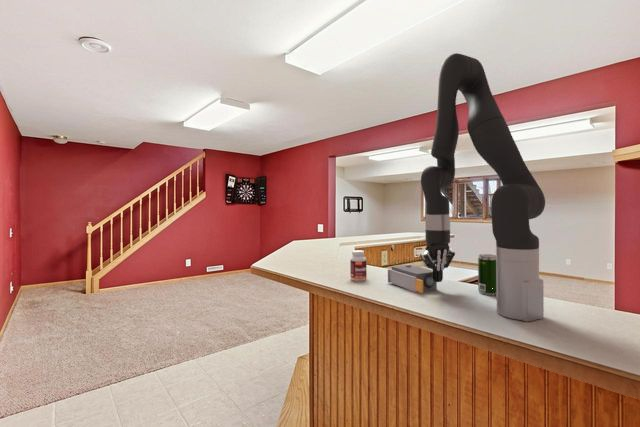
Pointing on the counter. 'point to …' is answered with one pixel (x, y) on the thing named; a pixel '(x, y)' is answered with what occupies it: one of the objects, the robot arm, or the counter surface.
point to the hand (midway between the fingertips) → (437, 281)
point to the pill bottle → (358, 266)
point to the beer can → (487, 274)
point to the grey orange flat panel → (405, 281)
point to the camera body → (418, 275)
